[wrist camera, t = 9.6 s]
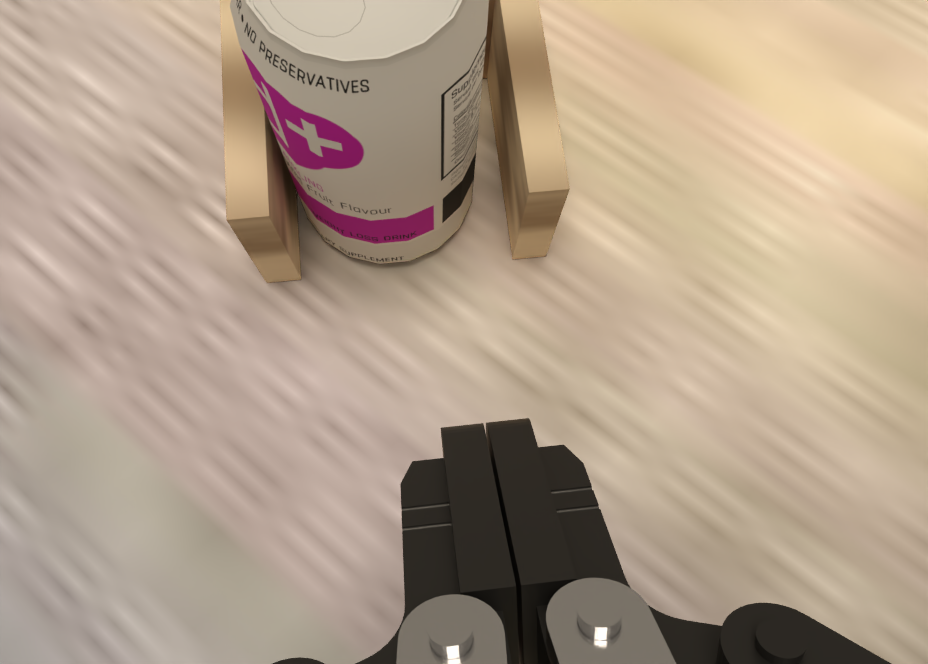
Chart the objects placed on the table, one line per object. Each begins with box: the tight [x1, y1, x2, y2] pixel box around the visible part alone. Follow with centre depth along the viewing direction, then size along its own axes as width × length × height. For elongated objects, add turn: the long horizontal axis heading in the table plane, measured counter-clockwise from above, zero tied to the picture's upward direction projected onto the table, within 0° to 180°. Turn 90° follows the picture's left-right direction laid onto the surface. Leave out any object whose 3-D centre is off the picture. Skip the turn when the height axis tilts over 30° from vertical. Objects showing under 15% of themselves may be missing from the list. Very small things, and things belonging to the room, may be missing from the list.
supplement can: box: [230, 0, 489, 264], centre depth 30 cm, size 8×8×15 cm
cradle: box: [220, 0, 570, 283], centre depth 34 cm, size 12×13×7 cm
